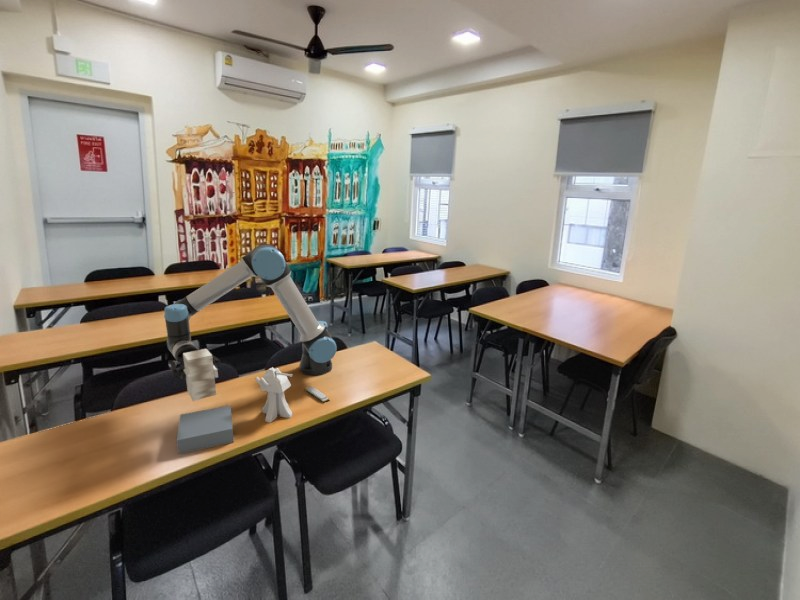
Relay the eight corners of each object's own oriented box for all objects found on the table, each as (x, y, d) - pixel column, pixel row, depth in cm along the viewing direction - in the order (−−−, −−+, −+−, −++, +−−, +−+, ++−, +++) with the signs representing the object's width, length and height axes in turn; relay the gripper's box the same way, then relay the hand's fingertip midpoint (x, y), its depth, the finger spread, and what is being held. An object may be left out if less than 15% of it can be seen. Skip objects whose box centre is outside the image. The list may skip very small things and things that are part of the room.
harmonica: (329, 401, 156) (329, 397, 156) (323, 404, 154) (323, 399, 154) (310, 388, 166) (310, 384, 166) (304, 391, 164) (304, 386, 164)
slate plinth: (231, 417, 143) (230, 405, 142) (233, 442, 129) (232, 428, 128) (182, 427, 136) (180, 414, 135) (178, 454, 122) (176, 440, 121)
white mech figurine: (285, 425, 139) (282, 379, 134) (253, 419, 142) (249, 373, 138) (302, 409, 150) (300, 365, 145) (272, 403, 153) (269, 360, 149)
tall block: (210, 386, 133) (206, 348, 130) (216, 394, 128) (212, 355, 125) (187, 392, 129) (182, 353, 125) (192, 401, 124) (187, 360, 120)
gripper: (216, 357, 147) (237, 379, 130) (155, 370, 135) (169, 397, 118) (215, 338, 145) (235, 358, 128) (152, 350, 133) (165, 374, 116)
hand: (203, 376), depth 123 cm, fingers closed on tall block, 7 cm apart
